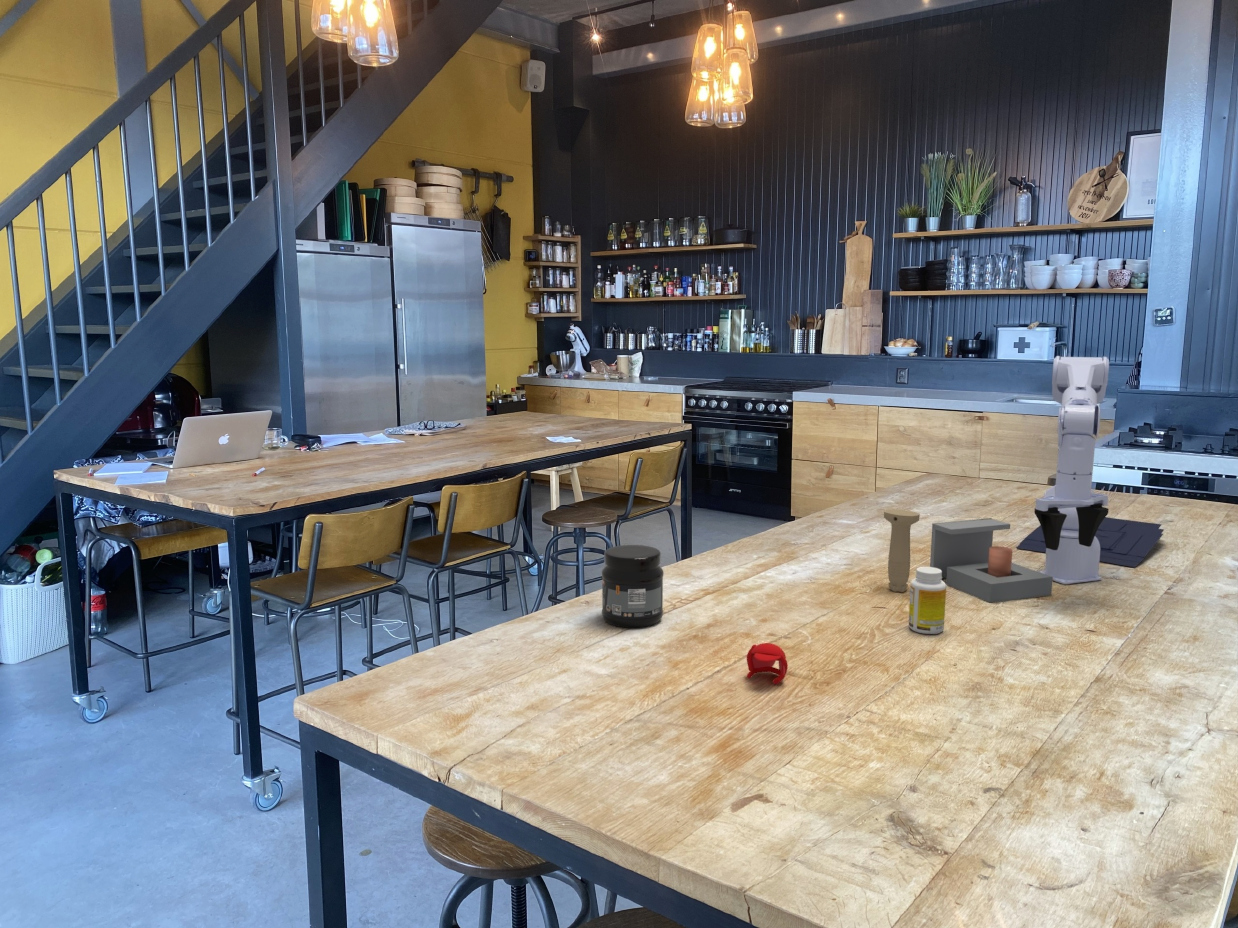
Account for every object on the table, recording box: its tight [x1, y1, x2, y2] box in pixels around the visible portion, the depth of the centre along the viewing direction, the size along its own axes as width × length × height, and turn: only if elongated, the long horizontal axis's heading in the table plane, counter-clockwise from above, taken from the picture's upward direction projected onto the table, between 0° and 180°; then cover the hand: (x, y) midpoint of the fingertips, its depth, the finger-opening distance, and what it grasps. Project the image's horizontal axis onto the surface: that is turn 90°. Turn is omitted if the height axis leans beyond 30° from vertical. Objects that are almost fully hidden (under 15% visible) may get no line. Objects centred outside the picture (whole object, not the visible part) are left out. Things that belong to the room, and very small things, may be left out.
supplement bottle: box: [908, 566, 947, 635], centre depth 150 cm, size 6×6×10 cm
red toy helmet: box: [746, 642, 789, 685], centre depth 130 cm, size 7×6×6 cm
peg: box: [988, 545, 1013, 578], centre depth 172 cm, size 4×4×8 cm
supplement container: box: [600, 544, 665, 629], centre depth 155 cm, size 10×10×12 cm
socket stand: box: [929, 517, 1053, 604], centre depth 174 cm, size 14×17×11 cm
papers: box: [1015, 516, 1165, 568], centre depth 205 cm, size 24×30×4 cm
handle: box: [883, 508, 920, 593], centre depth 171 cm, size 5×6×15 cm
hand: (1068, 547), depth 163 cm, fingers open, 7 cm apart
